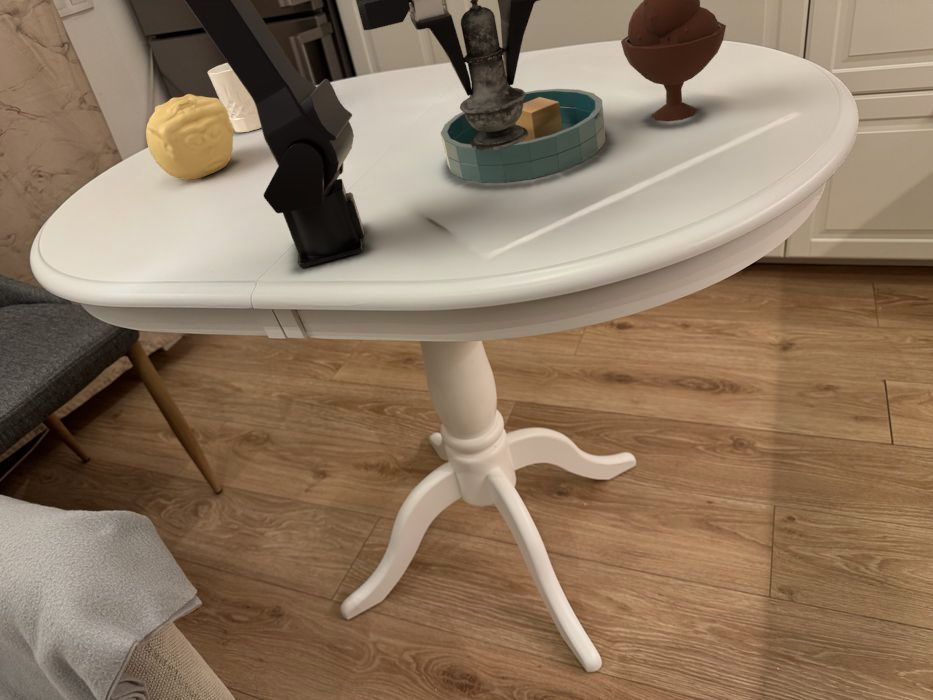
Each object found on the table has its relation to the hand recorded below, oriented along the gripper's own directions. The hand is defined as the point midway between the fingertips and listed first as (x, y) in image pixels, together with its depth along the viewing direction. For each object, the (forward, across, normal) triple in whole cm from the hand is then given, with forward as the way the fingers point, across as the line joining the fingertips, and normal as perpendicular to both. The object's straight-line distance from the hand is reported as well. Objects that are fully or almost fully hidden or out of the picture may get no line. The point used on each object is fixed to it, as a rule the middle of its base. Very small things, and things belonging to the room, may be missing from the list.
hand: (489, 89), depth 60 cm
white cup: (+13, +32, -63) cm, 72 cm away
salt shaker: (+5, 0, 0) cm, 5 cm away
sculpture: (+13, +38, -44) cm, 59 cm away
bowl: (+13, -5, -17) cm, 22 cm away
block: (+12, -8, -20) cm, 25 cm away
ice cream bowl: (+13, -23, -16) cm, 31 cm away
